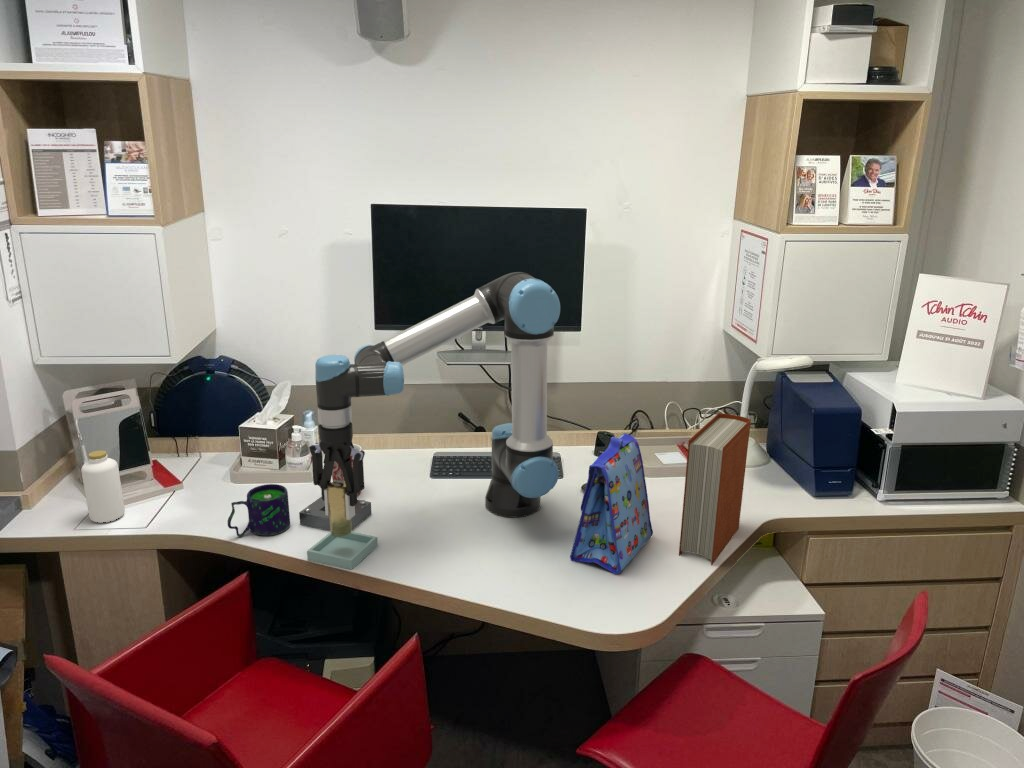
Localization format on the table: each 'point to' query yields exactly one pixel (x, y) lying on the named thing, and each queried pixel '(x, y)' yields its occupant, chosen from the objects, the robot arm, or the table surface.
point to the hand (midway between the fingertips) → (340, 514)
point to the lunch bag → (614, 508)
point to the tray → (342, 549)
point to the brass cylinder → (338, 509)
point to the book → (714, 485)
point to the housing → (320, 520)
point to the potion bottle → (102, 488)
